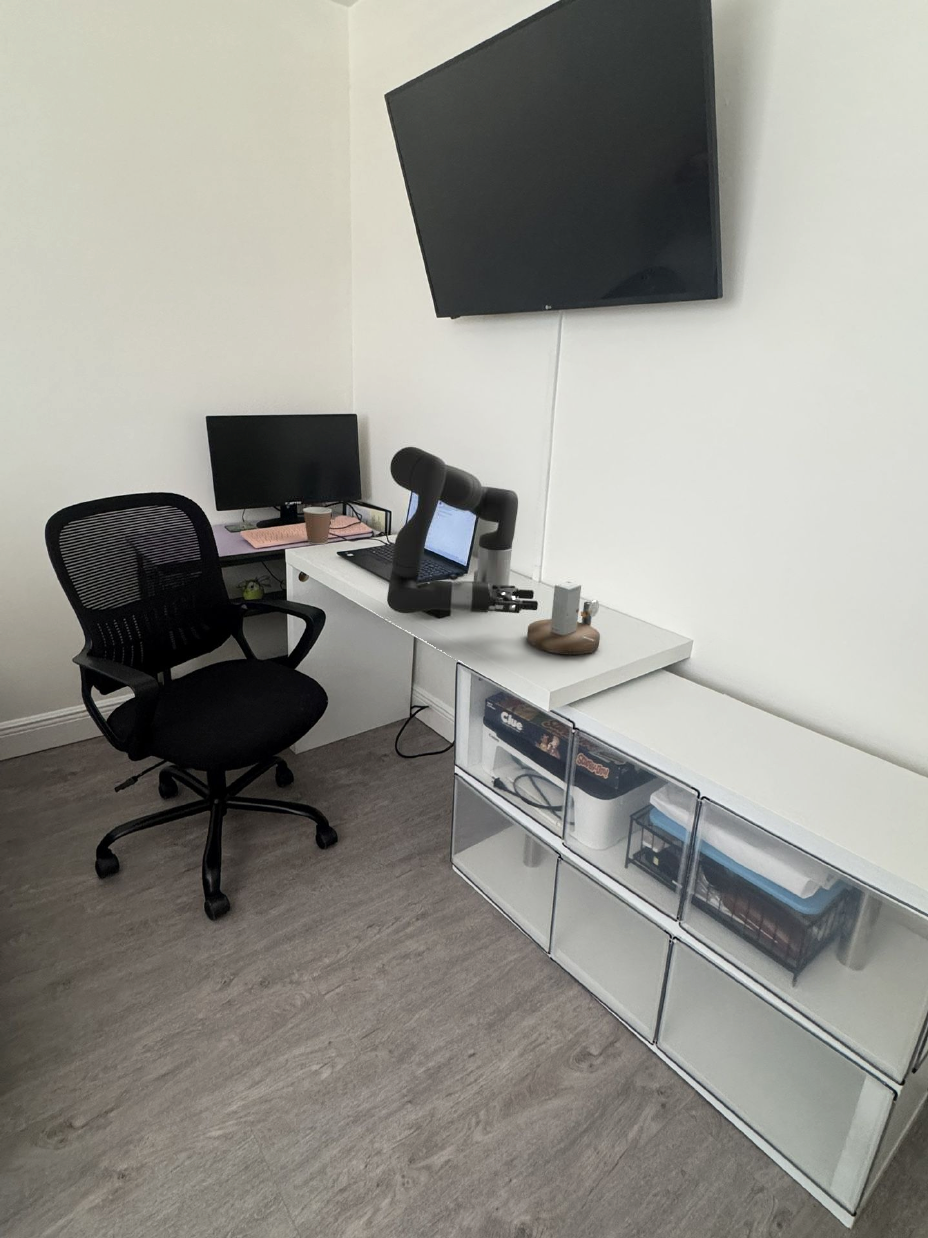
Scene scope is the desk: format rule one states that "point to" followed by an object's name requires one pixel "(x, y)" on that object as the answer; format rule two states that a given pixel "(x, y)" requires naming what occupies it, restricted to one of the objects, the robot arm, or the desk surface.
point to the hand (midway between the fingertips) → (535, 599)
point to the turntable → (563, 638)
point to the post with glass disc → (589, 611)
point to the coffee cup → (317, 524)
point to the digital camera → (435, 612)
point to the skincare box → (565, 608)
